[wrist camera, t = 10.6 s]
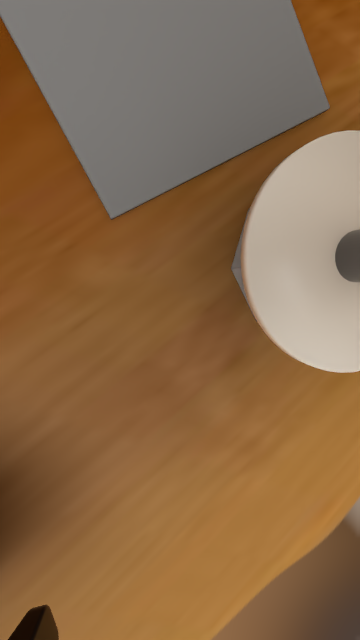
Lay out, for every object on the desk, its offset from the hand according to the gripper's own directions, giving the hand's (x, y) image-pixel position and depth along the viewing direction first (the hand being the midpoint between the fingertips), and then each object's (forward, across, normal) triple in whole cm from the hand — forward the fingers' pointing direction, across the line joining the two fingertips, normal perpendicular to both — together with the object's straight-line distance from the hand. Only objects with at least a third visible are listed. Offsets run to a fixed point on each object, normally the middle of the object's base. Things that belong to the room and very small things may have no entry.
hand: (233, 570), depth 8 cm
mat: (+14, -3, -19) cm, 24 cm away
